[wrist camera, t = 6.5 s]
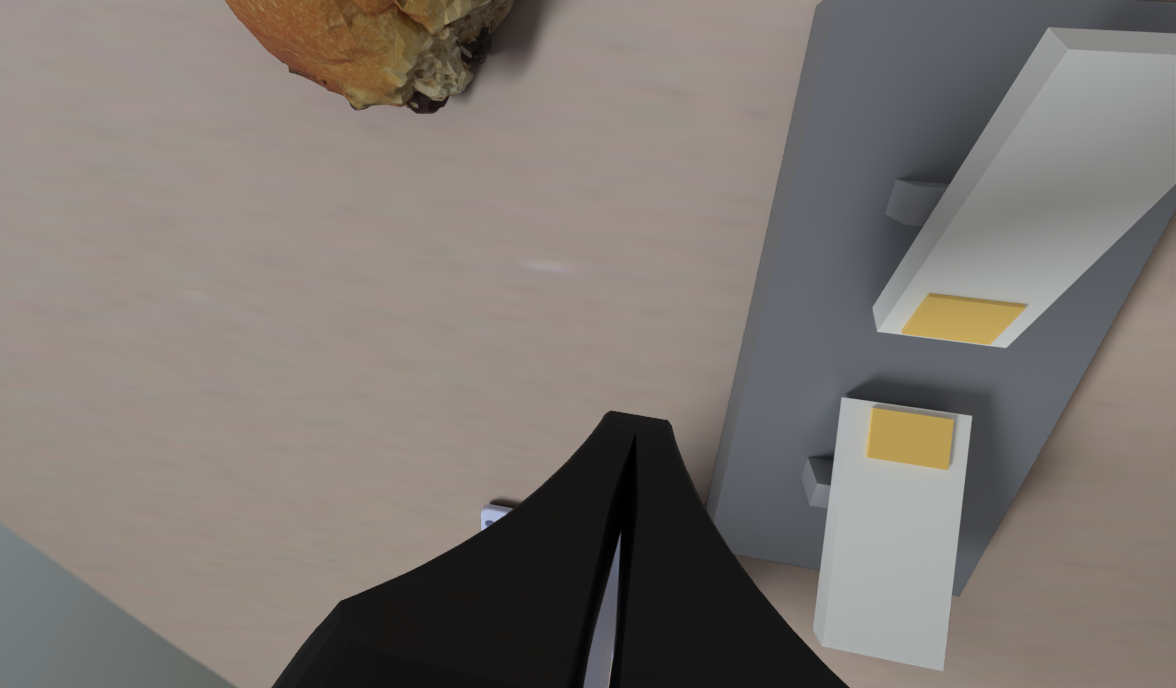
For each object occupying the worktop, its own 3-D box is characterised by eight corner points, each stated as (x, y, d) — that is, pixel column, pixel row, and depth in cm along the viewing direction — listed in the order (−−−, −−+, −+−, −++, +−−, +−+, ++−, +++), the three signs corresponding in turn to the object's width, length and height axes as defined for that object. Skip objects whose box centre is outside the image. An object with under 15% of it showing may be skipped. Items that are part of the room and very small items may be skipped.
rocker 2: (996, 322, 16) (1007, 352, 15) (872, 307, 16) (878, 335, 15) (1266, 37, 9) (1307, 66, 9) (1048, 27, 10) (1071, 52, 9)
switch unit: (937, 549, 23) (983, 632, 19) (705, 508, 24) (708, 578, 20) (1201, 23, 14) (1378, -6, 10) (816, 5, 15) (855, -26, 12)
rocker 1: (925, 653, 17) (945, 674, 16) (812, 630, 17) (824, 649, 16) (953, 413, 17) (975, 416, 16) (841, 397, 17) (854, 398, 16)
